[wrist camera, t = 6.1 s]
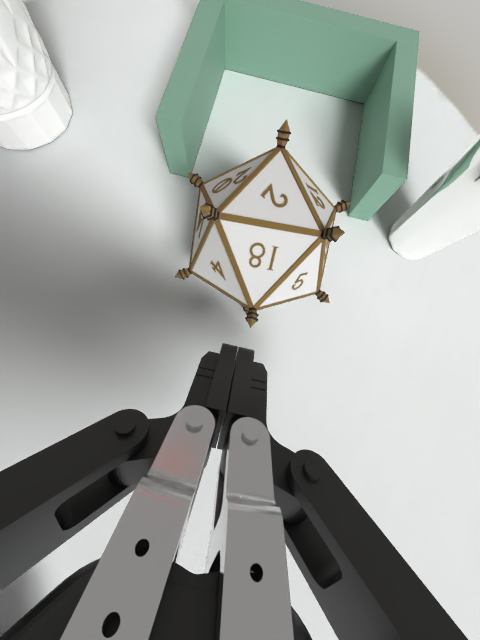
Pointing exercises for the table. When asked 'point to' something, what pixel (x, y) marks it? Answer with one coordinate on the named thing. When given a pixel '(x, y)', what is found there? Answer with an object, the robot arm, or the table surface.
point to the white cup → (28, 84)
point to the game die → (263, 231)
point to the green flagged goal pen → (299, 80)
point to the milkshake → (442, 210)
